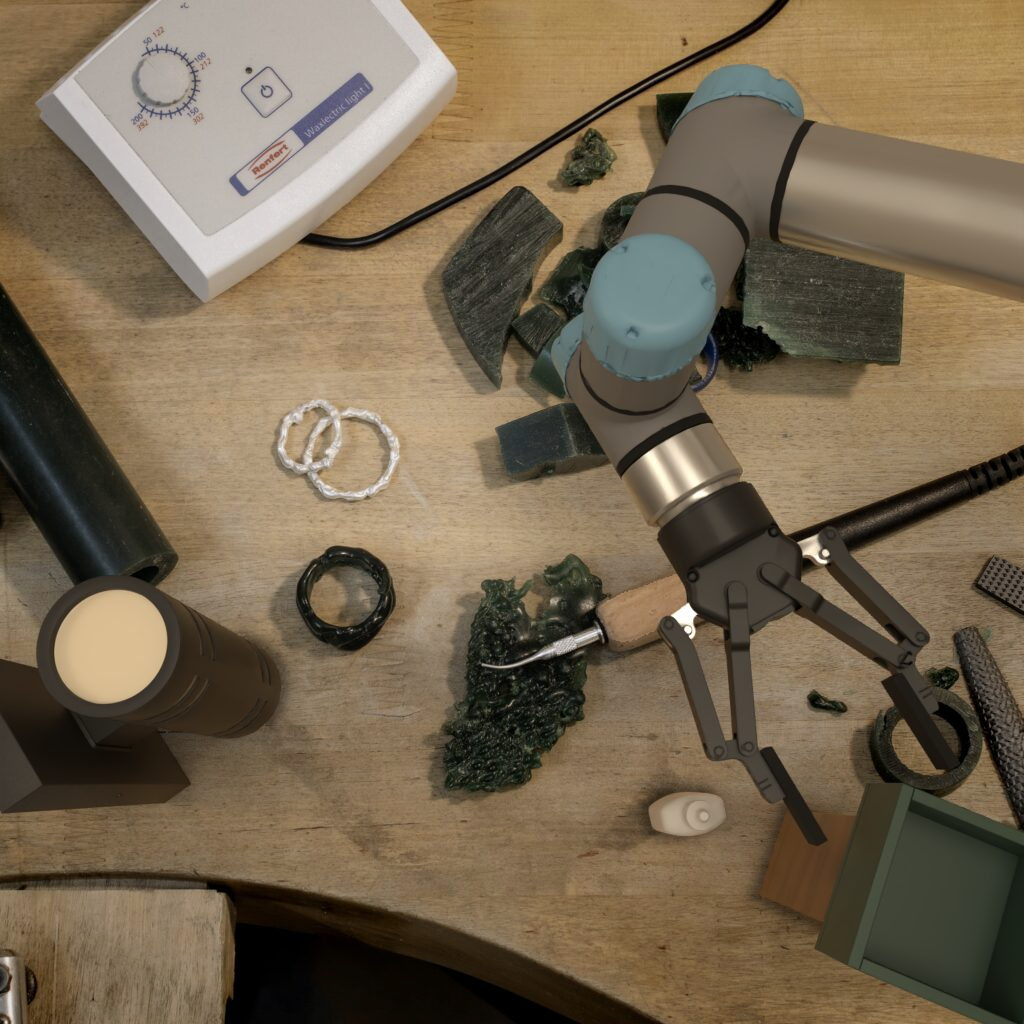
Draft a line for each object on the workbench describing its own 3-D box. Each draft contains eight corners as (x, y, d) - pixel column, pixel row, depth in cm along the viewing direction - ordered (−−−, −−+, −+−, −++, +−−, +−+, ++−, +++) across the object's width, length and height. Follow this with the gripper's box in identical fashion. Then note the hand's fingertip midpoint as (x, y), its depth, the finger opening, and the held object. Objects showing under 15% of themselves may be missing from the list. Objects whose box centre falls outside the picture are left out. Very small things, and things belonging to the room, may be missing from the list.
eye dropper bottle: (702, 845, 96) (730, 854, 84) (642, 825, 96) (663, 831, 84) (714, 798, 97) (744, 800, 85) (655, 778, 97) (677, 778, 85)
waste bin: (1027, 849, 72) (1081, 855, 65) (980, 1020, 69) (1032, 1045, 63) (866, 782, 73) (903, 782, 66) (813, 948, 70) (847, 965, 64)
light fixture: (304, 707, 98) (213, 671, 66) (166, 804, 96) (2, 815, 64) (244, 616, 100) (128, 538, 68) (107, 708, 98) (-80, 673, 66)
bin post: (868, 843, 96) (995, 864, 72) (841, 930, 94) (962, 981, 70) (785, 808, 96) (883, 817, 72) (757, 894, 95) (847, 932, 70)
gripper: (822, 447, 77) (1004, 723, 71) (562, 590, 75) (727, 883, 70) (848, 413, 69) (1053, 718, 64) (561, 570, 68) (745, 896, 63)
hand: (883, 804), depth 67 cm, fingers open, 9 cm apart
